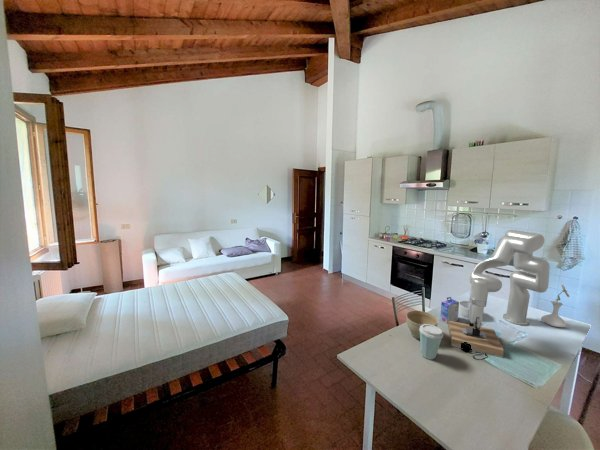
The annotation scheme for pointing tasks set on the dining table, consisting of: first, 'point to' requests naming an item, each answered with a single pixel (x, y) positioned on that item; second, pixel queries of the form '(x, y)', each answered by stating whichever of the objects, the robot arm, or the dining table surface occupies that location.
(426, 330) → the disposable coffee cup
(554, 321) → the flower in vase
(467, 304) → the ramekin
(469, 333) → the flanged block
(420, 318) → the planter bowl
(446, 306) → the ink cartridge box
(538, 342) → the dining table surface
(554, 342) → the dining table surface
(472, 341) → the wooden board
